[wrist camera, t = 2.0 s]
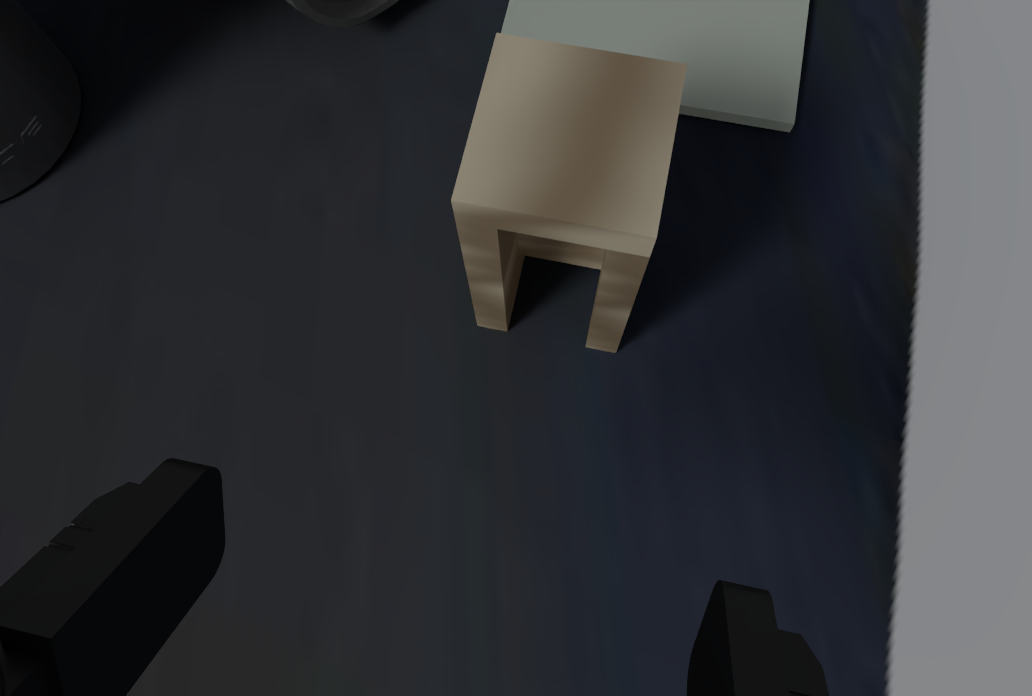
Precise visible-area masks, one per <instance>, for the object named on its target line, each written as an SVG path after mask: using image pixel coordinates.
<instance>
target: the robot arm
mask: <svg viewBox="0 0 1032 696" xmlns="http://www.w3.org/2000/svg"><path fill="white" fill-rule="evenodd" d="M80 112H81V90H80V86H79V81H78V77H77V75H76V73H75V71H74V69H73V67H72V65H71V63H70V62H69V60H68V59H67V58H66V57H65V56H64V55H63V53H62V52H61V51H60V50H59V49H58V48H57V47H56V45H55V44H54V43H53V42H52V41H51V40H50V39H49V37H48V36H47V35H46V34H45V33H44V32H43V31H42V29H41V28H40V27H39V26H38V25H37V24H36V23H35V21H34V20H33V19H32V18H31V17H30V16H29V15H28V13H27V12H26V11H25V10H24V9H23V8H22V7H21V5H20V4H19V3H18V2H17V1H16V0H0V201H2V200H4V199H7V198H9V197H12V196H13V195H15V194H17V193H18V192H20V191H22V190H23V189H25V188H27V187H28V186H30V185H31V184H33V183H34V182H35V181H36V180H38V179H39V178H40V177H41V176H42V175H43V174H44V173H46V172H47V171H48V170H49V169H50V168H51V167H52V166H53V165H54V163H55V162H56V161H57V160H58V158H59V157H60V156H61V155H62V153H63V152H64V151H65V149H66V148H67V146H68V144H69V142H70V140H71V138H72V136H73V134H74V133H75V130H76V126H77V123H78V119H79V116H80ZM224 548H225V525H224V509H223V493H222V479H221V474H220V471H219V470H218V469H217V468H215V467H211V466H207V465H202V464H197V463H193V462H188V461H184V460H179V459H175V458H170V459H167V460H165V461H164V462H163V463H162V464H160V465H159V466H158V467H157V468H156V469H155V470H154V471H153V472H152V473H151V474H150V475H149V476H148V477H147V478H146V479H145V480H144V481H143V482H142V483H141V484H136V483H131V482H128V483H126V484H124V485H122V486H120V487H118V488H116V489H114V490H112V491H111V492H109V493H107V494H105V495H103V496H101V497H99V498H97V499H95V500H94V501H93V502H92V503H91V504H90V505H89V506H88V507H86V508H85V509H84V510H83V511H82V512H81V513H80V514H79V515H78V516H77V517H76V518H75V519H73V520H72V521H71V522H70V526H69V527H65V528H64V529H63V530H62V531H61V532H59V533H58V534H57V535H56V536H55V537H54V538H53V539H52V540H51V541H50V544H49V546H48V547H45V546H44V547H43V548H42V549H41V550H40V551H39V552H38V553H37V554H36V555H35V556H34V557H32V558H31V559H30V560H29V561H28V562H27V563H26V564H25V565H24V566H23V567H22V568H21V569H19V570H18V571H17V572H16V573H15V574H14V575H13V576H12V577H11V578H10V579H9V580H8V581H7V582H5V583H4V584H3V585H2V586H1V587H0V696H126V695H127V693H128V692H129V691H130V689H131V688H132V686H133V685H134V684H135V682H136V681H137V680H138V678H139V677H140V676H141V674H142V673H143V672H144V670H145V669H146V668H147V666H148V665H149V664H150V662H151V661H152V660H153V658H154V657H155V655H156V654H157V653H158V651H159V650H160V649H161V647H162V646H163V645H164V643H165V642H166V641H167V639H168V638H169V637H170V635H171V634H172V633H173V631H174V630H175V629H176V627H177V626H178V625H179V623H180V622H181V620H182V619H183V618H184V616H185V615H186V614H187V612H188V611H189V610H190V608H191V607H192V606H193V604H194V603H195V602H196V600H197V599H198V598H199V596H200V595H201V594H202V592H203V591H204V589H205V588H206V587H207V585H208V584H209V583H210V581H211V580H212V579H213V577H214V575H215V574H216V572H217V570H218V568H219V565H220V563H221V560H222V557H223V553H224ZM687 696H829V693H828V689H827V685H826V681H825V676H824V672H823V668H822V666H821V664H820V663H819V661H818V660H817V658H816V657H815V655H814V654H813V652H812V651H811V649H810V648H809V646H808V644H807V643H806V641H805V640H804V638H803V637H802V635H801V634H796V633H792V632H787V631H783V630H778V629H777V623H776V618H775V612H774V607H773V602H772V597H771V595H770V593H769V591H767V590H763V589H758V588H754V587H749V586H745V585H740V584H736V583H731V582H726V581H722V580H718V581H717V582H716V584H715V586H714V588H713V591H712V594H711V597H710V600H709V602H708V605H707V608H706V611H705V614H704V617H703V620H702V623H701V626H700V629H699V632H698V634H697V637H696V640H695V643H694V646H693V649H692V653H691V658H690V663H689V669H688V679H687Z"/></svg>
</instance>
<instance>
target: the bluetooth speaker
mask: <svg viewBox="0 0 1032 696" xmlns="http://www.w3.org/2000/svg"><path fill="white" fill-rule="evenodd" d="M286 1H287V2H288V3H289V4H291V5H292V6H293V7H295V8H296V9H297V10H298V11H300V12H301V13H302V14H304V15H305V16H306V17H308V18H310V19H311V20H313V21H315V22H317V23H320V24H322V25H326V26H331V27H351V26H355V25H360V24H362V23H364V22H366V21H368V20H370V19H371V18H373V17H375V16H376V15H378V14H380V13H381V12H383V11H384V10H386V9H388V8H389V7H391V6H392V5H394V4H395V3H396V2H398V1H399V0H286Z"/></svg>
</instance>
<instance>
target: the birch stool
mask: <svg viewBox="0 0 1032 696" xmlns="http://www.w3.org/2000/svg"><path fill="white" fill-rule="evenodd" d="M686 69H687V64H684V63H678V62H672V61H666V60H660V59H654V58H648V57H641V56H635V55H629V54H623V53H617V52H611V51H605V50H599V49H593V48H587V47H580V46H574V45H568V44H562V43H556V42H550V41H544V40H538V39H532V38H525V37H519V36H513V35H507V34H501V33H496V37H495V40H494V44H493V48H492V51H491V55H490V59H489V62H488V66H487V70H486V73H485V77H484V81H483V84H482V88H481V92H480V96H479V99H478V103H477V107H476V110H475V114H474V118H473V121H472V125H471V129H470V132H469V136H468V140H467V143H466V147H465V151H464V155H463V158H462V162H461V166H460V169H459V173H458V177H457V180H456V184H455V188H454V191H453V195H452V199H451V202H452V207H453V211H454V216H455V221H456V226H457V230H458V235H459V240H460V245H461V249H462V254H463V259H464V264H465V268H466V273H467V278H468V283H469V287H470V292H471V297H472V302H473V306H474V311H475V316H476V321H477V325H478V326H482V327H487V328H492V329H497V330H502V331H508V327H509V323H510V318H511V314H512V310H513V305H514V301H515V297H516V292H517V288H518V284H519V279H520V275H521V271H522V267H523V262H524V258H525V255H526V256H531V257H536V258H542V259H547V260H552V261H558V262H563V263H568V264H573V265H579V266H584V267H589V268H595V269H600V270H601V271H600V276H599V281H598V286H597V291H596V296H595V301H594V306H593V311H592V316H591V321H590V326H589V331H588V336H587V341H586V347H588V348H593V349H598V350H603V351H608V352H613V353H616V352H617V349H618V346H619V343H620V340H621V337H622V335H623V332H624V329H625V326H626V323H627V321H628V318H629V315H630V312H631V309H632V306H633V304H634V301H635V298H636V295H637V292H638V290H639V287H640V284H641V281H642V278H643V275H644V273H645V270H646V267H647V264H648V261H649V258H650V256H651V253H652V250H653V247H654V244H655V242H656V239H657V234H658V228H659V222H660V217H661V211H662V205H663V200H664V194H665V188H666V183H667V177H668V171H669V166H670V160H671V154H672V149H673V143H674V137H675V131H676V126H677V120H678V114H679V109H680V103H681V97H682V92H683V86H684V80H685V75H686Z"/></svg>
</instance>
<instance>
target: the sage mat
mask: <svg viewBox="0 0 1032 696" xmlns="http://www.w3.org/2000/svg"><path fill="white" fill-rule="evenodd" d="M809 1H810V0H510V1H509V5H508V9H507V12H506V16H505V20H504V24H503V27H502V31H501V34H507V35H513V36H519V37H525V38H532V39H538V40H544V41H550V42H556V43H562V44H568V45H574V46H580V47H587V48H593V49H599V50H605V51H611V52H617V53H623V54H629V55H635V56H641V57H648V58H654V59H660V60H666V61H672V62H678V63H684V64H687V69H686V75H685V80H684V86H683V92H682V97H681V103H680V109H679V114H684V115H690V116H696V117H702V118H708V119H714V120H719V121H725V122H731V123H737V124H743V125H749V126H755V127H761V128H767V129H773V130H778V131H784V132H790V131H791V129H792V128H793V126H794V124H795V116H796V108H797V100H798V91H799V83H800V75H801V67H802V58H803V50H804V42H805V34H806V25H807V17H808V9H809Z"/></svg>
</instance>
